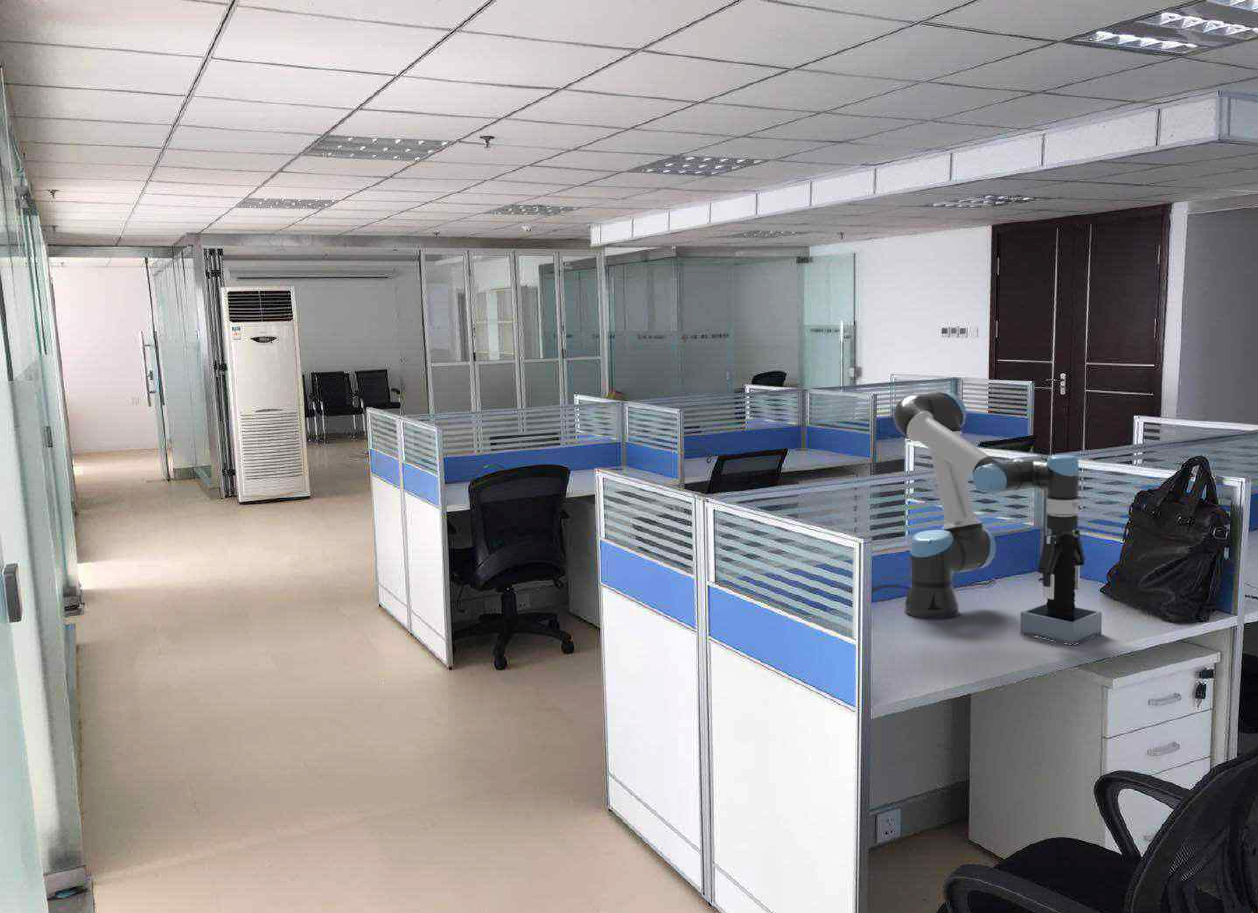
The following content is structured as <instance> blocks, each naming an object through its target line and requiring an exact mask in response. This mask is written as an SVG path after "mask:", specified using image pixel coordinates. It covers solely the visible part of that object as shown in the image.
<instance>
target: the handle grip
mask: <svg viewBox="0 0 1258 913" xmlns="http://www.w3.org/2000/svg"><path fill="white" fill-rule="evenodd" d="M1047 536H1051V534H1049V535H1047ZM1075 539H1076V537H1075V536H1073V535H1068V534H1066V535H1064V536H1063V537H1061V538H1060V539H1059V541H1060V543H1059V544H1057V543H1056V544H1055V547H1054V548H1059V547H1060V545H1062V553H1060V554H1059V557H1058V560H1057V562H1056V565H1055V567H1054V570H1053V573H1052V574H1054V599H1047V598H1046V600H1047V602H1046V603H1047V608H1048V609H1047V612H1048V613H1047V617H1051V618H1055V619H1060V620H1065V621H1070V622H1074V621H1075V617H1074V613H1075V611H1074V609H1075V607H1076V605H1075V601H1076V599H1075V597H1076V593H1075V579H1074V578H1075V567H1074V566H1075V561H1076V558H1075V555H1074V554H1076V552H1075V549H1076V544H1075ZM1055 541H1056V540H1055Z"/></svg>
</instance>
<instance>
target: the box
mask: <svg viewBox="0 0 1258 913" xmlns="http://www.w3.org/2000/svg"><path fill="white" fill-rule="evenodd" d="M1047 609H1048V608H1047V602H1045V603H1042V604H1038V605H1036V606H1034V607H1030V608H1028V609H1025V610H1022V611H1020V619H1019V620H1020V621H1019V622H1020V624H1019V626H1020V628H1019V630H1020V631H1019V632H1020V633H1021V634H1020V635H1023V634H1024V636H1027V635H1029V636H1028V637H1032V636H1038V637H1041V638H1046V639H1049V640H1053V641H1056V642H1055V643H1058V642H1060V643H1059V644H1062V643H1067V644H1071V645H1074V644H1076V643H1079V644H1082V643H1083V642H1082V641H1084V642H1086V641H1088V640H1090V639H1089V638H1091V637H1093V636H1095V637H1097V635H1098V636H1099V634H1100V635H1102V626H1103V625H1102V624H1103V622H1102V619H1103V618H1102V615H1103V614H1102V611H1098V610H1094V609H1089V608H1085V607H1079V606H1075V609H1074V611H1075V613H1074V617H1075V621H1074V622H1070V621H1065V620H1060V619H1055V618H1051V617H1047V613H1048V612H1047ZM1093 638H1094V637H1093ZM1087 639H1088V640H1087ZM1091 639H1092V638H1091ZM1049 640H1048V641H1049ZM1085 640H1086V641H1085ZM1053 641H1052V642H1053ZM1067 644H1066V645H1067ZM1071 645H1070V646H1071Z"/></svg>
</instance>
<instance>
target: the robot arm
mask: <svg viewBox="0 0 1258 913" xmlns="http://www.w3.org/2000/svg"><path fill="white" fill-rule="evenodd" d="M892 417H893V421H894V422H893V423H894V425H895V427H896V428H897V430H898V431H899V433H901V434H902V435H903V436H905V437H906V438H907V439H909V440H910V441H912V442H919V443H921V444H922V445H924V446H925V447H926V448H928V449H929V452H930V456H931V461H932V465H933V471H934V475H935V480H936V484H937V488H938V493H939V498H940V502H941V507H942V508H941V509H942V513H943V518H944V522H945V523H944V524H943V526H942V527H941V529H933V530H931V529H930V530H929V529H928V530H924V531H923V530H922V531H920V532H917V533H916V534H914V535H913V536H911V540H910V548H909V556H910V558H909V559H910V586H909V589H908V592H907V596H906V598H905V601H904V612H905V613H906V614H908V615H909V616H912V617H917V618H921V619H922V618H923V619H933V620H937V619H938V620H940V619H941V620H942V619H948V618H953V617H956V616H958V615H959V614H960V608H959V606H960V605H959V603H958V600H957V597H956V594H955V591H954V589H953V575H954V574H957V573H958V574H959V573H963V572H970V571H971V572H972V571H978V570H981V569H982V568H983V569H984V568H985V567H988V566H989V565H990V564H991V563H992V560H993V559H995V555H996V549H997V547H996V541H995V538H994V536H993V535H992V534H991V533H990V531H988V530H987V529H985V528H984V526H983V522H982V521H981V520H979V519H978V518H976V515H975V511H974V507H973V501H972V497H971V496H972V495H971V492H970V488H969V483H968V478H967V475H968V476H969V477H970V478H972V483H973V485H974V486H975V489H976V490H977V491H978V492H980V493H982V494H999V493H1004V492H1010V491H1019V490H1025V489H1040V490H1044V491H1045V490H1046V512H1047V515H1046V528H1047V529H1048V530H1050V531H1051V533H1050V535H1051V536H1048V535H1044V537H1043V545H1042V549H1041V554H1040V558H1039V562H1038V567H1037V569H1036V570H1037V573H1039V574H1041V575H1042V598H1044V599H1046V600H1047V599H1054V574H1052V573H1053V570H1054V567H1055V565H1056V562H1057V560H1058V557H1059V554H1060V553H1062V545H1060V547H1059V548H1054V547H1055V544H1056V543H1057V544H1059V543H1060V541H1059V539H1060V538H1061V537H1063V536H1064V535H1066V534H1068V535H1073V536H1075V537H1076V539H1075V544H1076V549H1075V552H1076V554H1074V555H1075V558H1076V561H1075V566H1074V567H1075V578H1074V579H1075V590H1076V591H1079V590H1080V584H1081V583H1080V582H1081V580H1080V579H1081V576H1080V575H1081V570H1080V569H1081V568H1080V567H1081V566H1085V561H1086V559H1085V558H1086V557H1085V554H1084V548H1083V545H1082V541H1081V536H1080V534H1081V533H1080V529H1078V528H1079V516H1078V512H1079V507H1080V503H1079V479H1080V470H1079V467H1080V465H1079V458H1078V457H1077V456H1075V455H1072V454H1053V455H1049V456H1048V457H1047V460H1046V461H1044V460H1036V459H1030V458H1016V459H1013V461H1012V462H1011V461H1010V462H1009V461H1008V462H1000V461H998V460H996V459H995V458H993V456H990V455H989V454H987V453H986V452H984V451H982V450H981V449H980V448H979V447H976V446H974V444H972V443H970V442H969V441H967V440H966V439H964V438H963V437H961V435H962V434H963V430H962V427H963V426H964V425H965V423H966V420H967V409H966V406H965V404H964V402H963V400H962V398H960V397H959V396H957V395H956V394H954V393H952V392H943V391H941V392H940V391H938V392H930V393H921V394H918V393H917V394H915V393H914V394H910V395H906V396H905V397H903V398H901V400H899V401H898V402H897V403H896V405H895V407H894V409H893V416H892ZM1055 540H1056V541H1055ZM1075 590H1074V591H1075Z"/></svg>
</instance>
